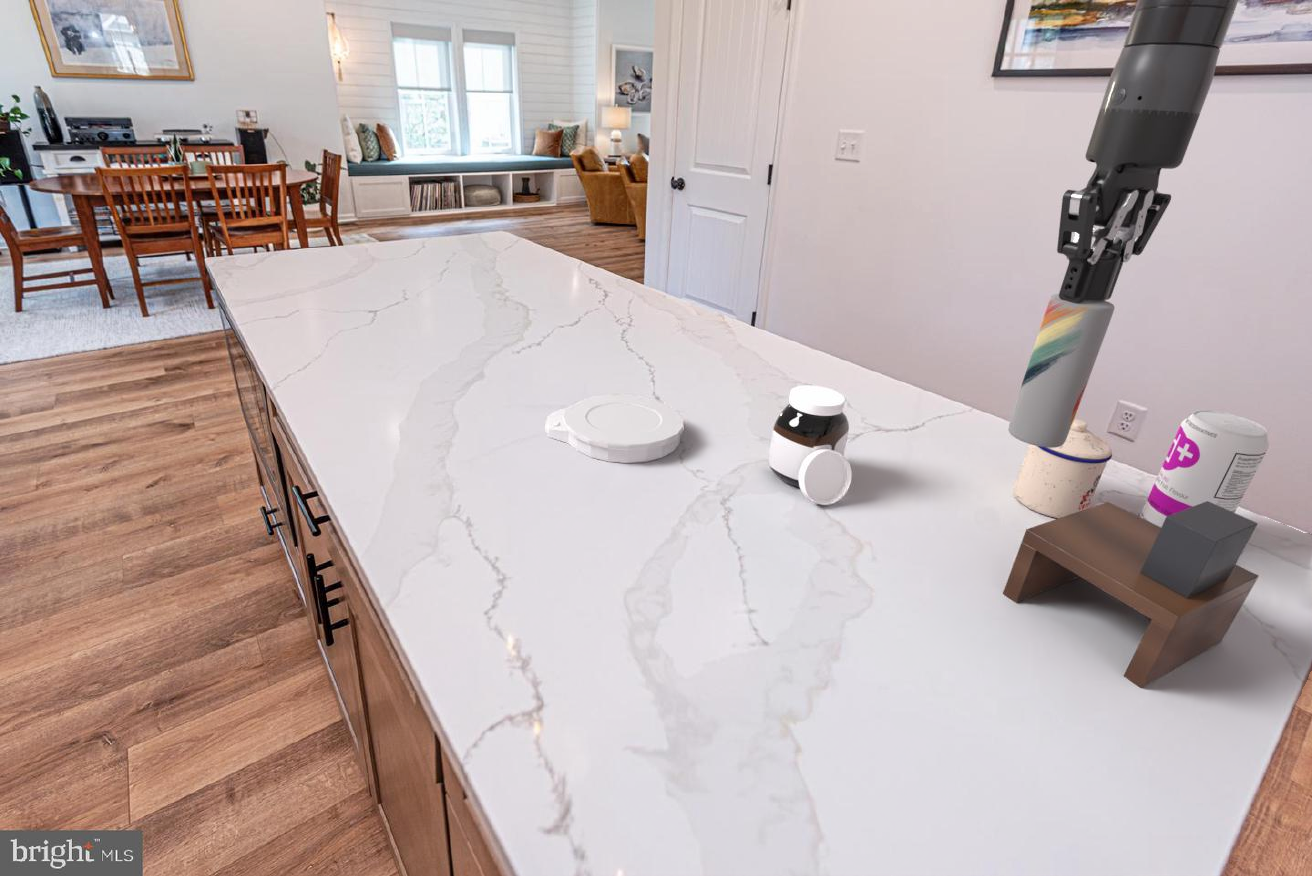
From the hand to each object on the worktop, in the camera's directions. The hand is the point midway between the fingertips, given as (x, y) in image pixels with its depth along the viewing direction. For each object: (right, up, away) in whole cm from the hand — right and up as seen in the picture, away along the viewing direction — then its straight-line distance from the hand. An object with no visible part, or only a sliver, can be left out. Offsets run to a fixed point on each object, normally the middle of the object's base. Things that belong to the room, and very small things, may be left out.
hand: (1084, 298), depth 67 cm
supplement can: (+22, -26, +17) cm, 38 cm away
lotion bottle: (-1, -14, +7) cm, 15 cm away
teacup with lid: (+9, -22, +22) cm, 33 cm away
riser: (+3, -32, +1) cm, 32 cm away
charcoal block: (+5, -26, -6) cm, 27 cm away
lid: (-49, -14, +30) cm, 59 cm away
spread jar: (-22, -20, +21) cm, 37 cm away
